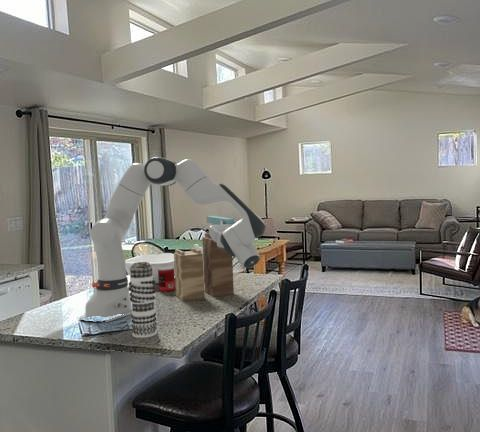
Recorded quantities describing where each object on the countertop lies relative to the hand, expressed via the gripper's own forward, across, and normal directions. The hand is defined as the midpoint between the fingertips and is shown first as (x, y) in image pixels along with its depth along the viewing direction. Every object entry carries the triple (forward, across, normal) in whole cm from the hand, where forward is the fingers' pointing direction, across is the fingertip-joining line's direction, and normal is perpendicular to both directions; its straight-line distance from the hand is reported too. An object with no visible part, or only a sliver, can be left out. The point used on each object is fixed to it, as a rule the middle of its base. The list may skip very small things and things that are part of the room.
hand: (226, 220), depth 221 cm
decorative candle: (-45, +45, +14) cm, 65 cm away
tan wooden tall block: (-5, +14, +37) cm, 40 cm away
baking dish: (+34, +20, +60) cm, 71 cm away
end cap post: (-5, 0, +37) cm, 37 cm away
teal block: (+7, 0, +6) cm, 9 cm away
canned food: (+12, +20, +47) cm, 52 cm away
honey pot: (+31, -5, +58) cm, 66 cm away
